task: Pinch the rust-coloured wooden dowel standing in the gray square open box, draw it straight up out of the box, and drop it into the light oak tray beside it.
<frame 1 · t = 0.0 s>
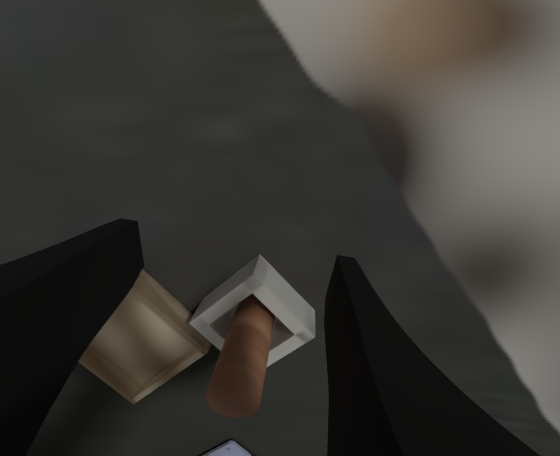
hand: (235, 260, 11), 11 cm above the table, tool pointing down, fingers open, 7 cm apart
gray square open box: (258, 304, 24), on the table
tray: (126, 318, 26), on the table
pin: (257, 308, 24), resting on gray square open box
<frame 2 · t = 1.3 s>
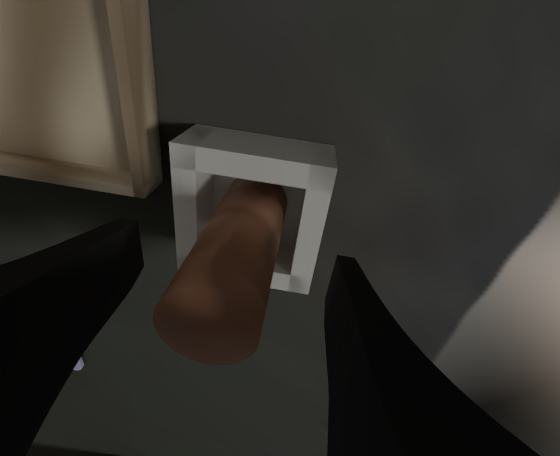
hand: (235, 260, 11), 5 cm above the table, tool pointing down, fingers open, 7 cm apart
gray square open box: (258, 197, 16), on the table
tray: (35, 30, 13), on the table
pin: (257, 201, 15), resting on gray square open box
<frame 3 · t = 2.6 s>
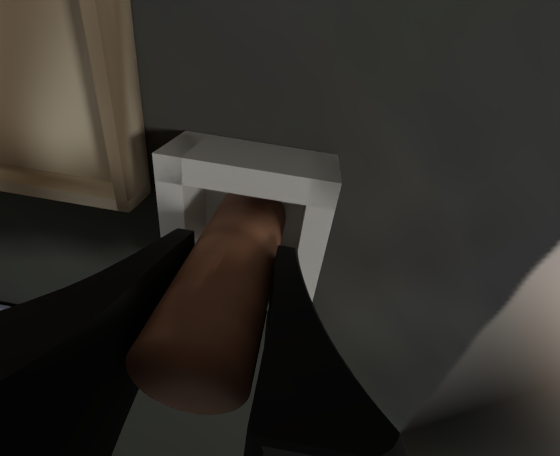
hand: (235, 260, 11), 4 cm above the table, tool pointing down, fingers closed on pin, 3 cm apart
gray square open box: (255, 209, 14), on the table
tray: (6, 28, 12), on the table
pin: (253, 214, 14), resting on gray square open box, touching gripper
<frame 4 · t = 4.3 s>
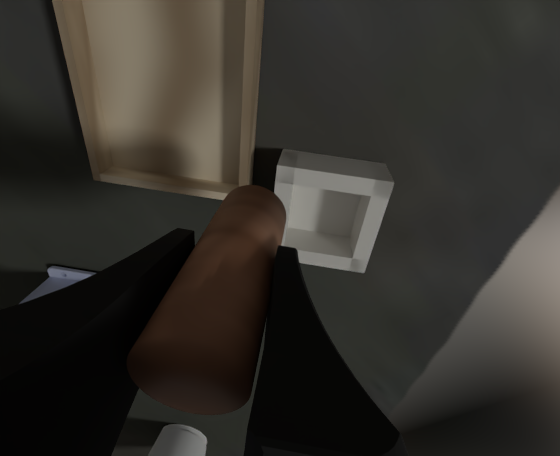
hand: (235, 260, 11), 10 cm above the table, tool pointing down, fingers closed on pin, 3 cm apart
gray square open box: (324, 201, 21), on the table
tray: (174, 85, 18), on the table
pin: (253, 215, 14), point 7 cm above the table, touching gripper
foam cup: (184, 434, 42), on the table
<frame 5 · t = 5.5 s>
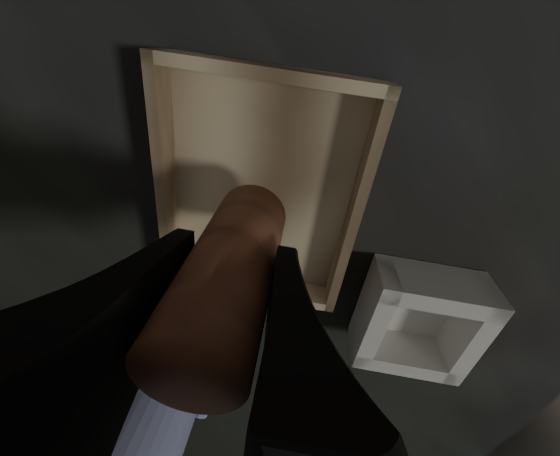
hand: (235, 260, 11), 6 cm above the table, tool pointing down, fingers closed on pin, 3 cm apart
gray square open box: (411, 302, 19), on the table
tray: (262, 190, 16), on the table
pin: (252, 215, 14), point 3 cm above the table, touching gripper
when the fingers open (5 cm above the table, at t = 6.4 s): pin drops 1 cm, resting on tray.
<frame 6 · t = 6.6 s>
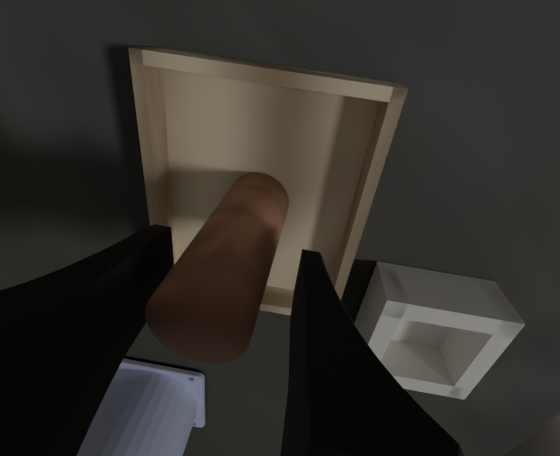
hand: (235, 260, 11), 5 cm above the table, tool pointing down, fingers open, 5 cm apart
gray square open box: (414, 311, 18), on the table
tray: (260, 196, 16), on the table
pin: (258, 201, 15), point 1 cm above the table, touching tray
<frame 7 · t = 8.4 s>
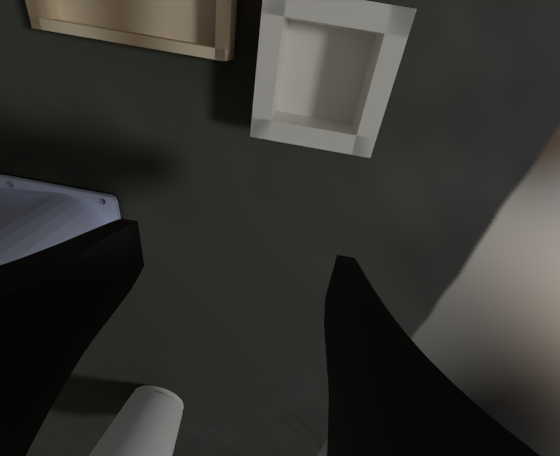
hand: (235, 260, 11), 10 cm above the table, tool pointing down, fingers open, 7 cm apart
gray square open box: (322, 74, 17), on the table
foam cup: (159, 399, 38), on the table
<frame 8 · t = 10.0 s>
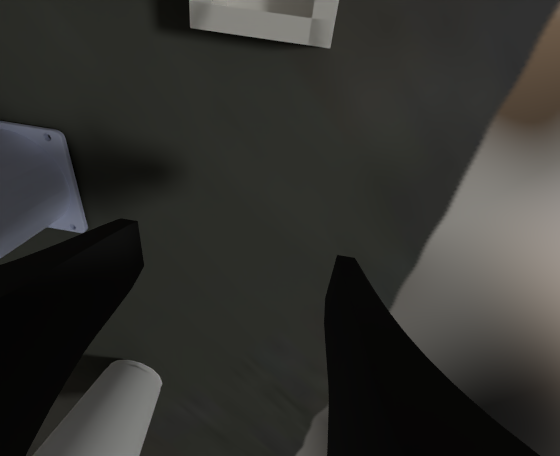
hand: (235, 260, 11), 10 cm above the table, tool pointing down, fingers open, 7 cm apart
foam cup: (136, 375, 35), on the table
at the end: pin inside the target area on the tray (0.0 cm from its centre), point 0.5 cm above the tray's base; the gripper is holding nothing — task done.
